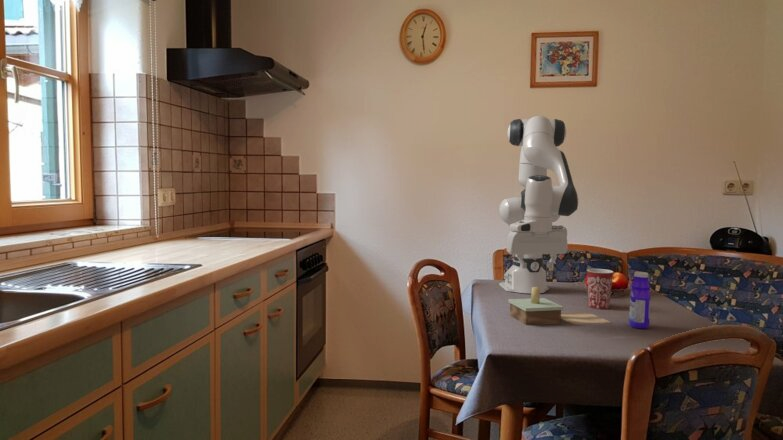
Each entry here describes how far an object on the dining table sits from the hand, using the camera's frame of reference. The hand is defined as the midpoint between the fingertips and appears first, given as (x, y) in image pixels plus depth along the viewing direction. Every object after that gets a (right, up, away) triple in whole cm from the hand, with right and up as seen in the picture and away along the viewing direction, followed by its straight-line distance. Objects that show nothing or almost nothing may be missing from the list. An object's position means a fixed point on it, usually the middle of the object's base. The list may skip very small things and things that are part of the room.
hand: (536, 268), depth 181 cm
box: (0, -18, +2) cm, 18 cm away
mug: (+30, -16, +25) cm, 42 cm away
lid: (0, -13, +1) cm, 13 cm away
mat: (+16, -18, +4) cm, 24 cm away
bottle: (+32, -19, -4) cm, 37 cm away
